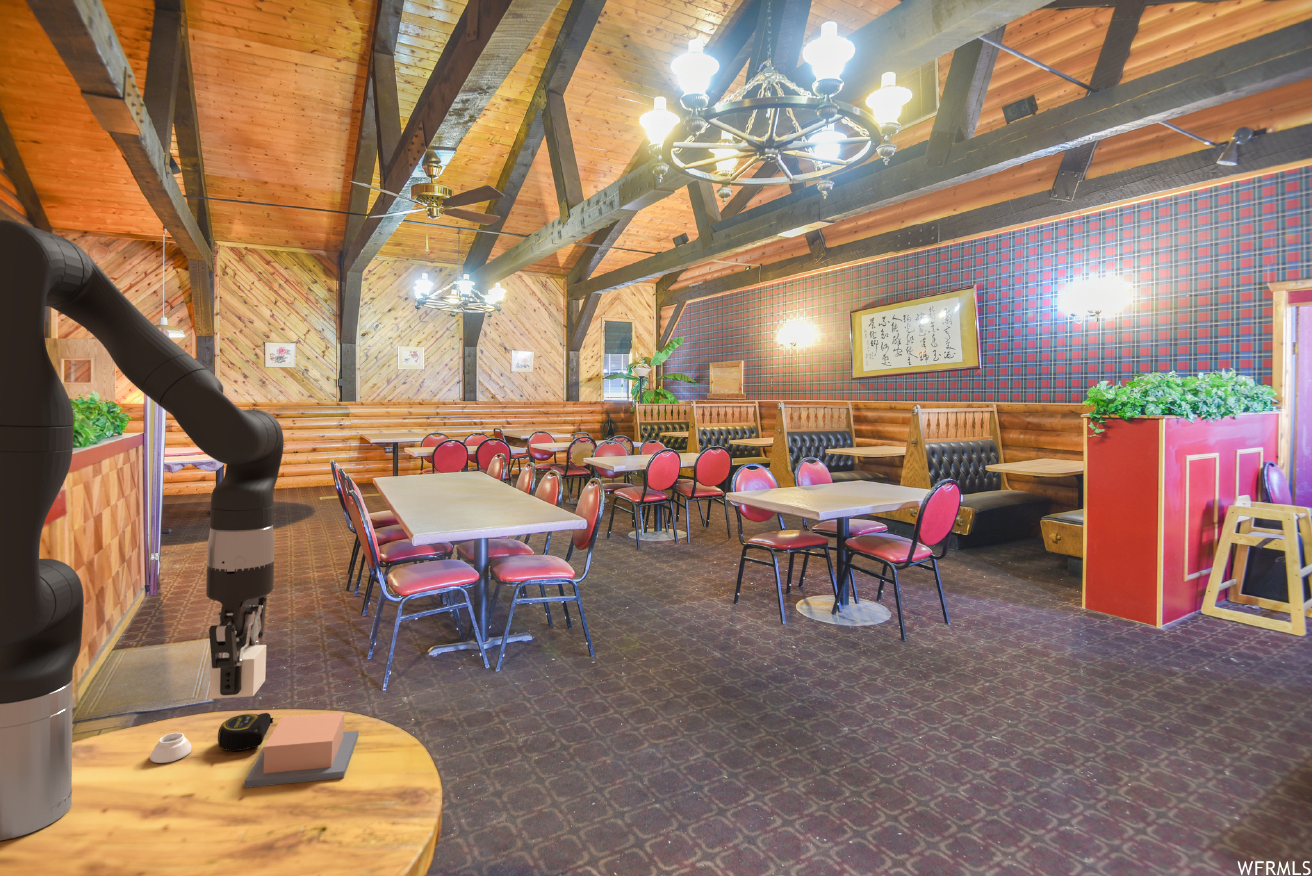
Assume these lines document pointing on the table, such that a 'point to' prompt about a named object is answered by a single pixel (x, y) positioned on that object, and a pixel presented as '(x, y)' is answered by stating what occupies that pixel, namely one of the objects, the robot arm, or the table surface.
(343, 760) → the build base
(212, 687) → the cream block
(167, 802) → the table surface
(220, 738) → the tape measure
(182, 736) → the white bowl
